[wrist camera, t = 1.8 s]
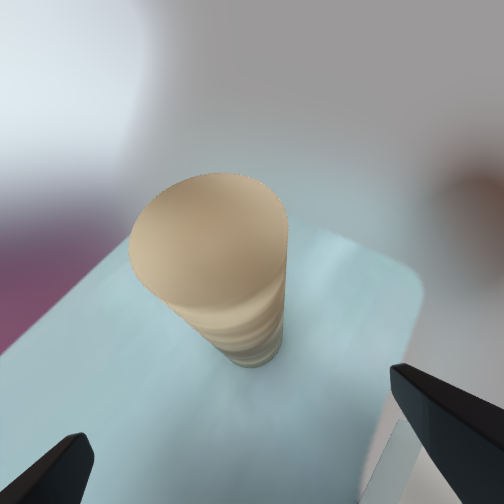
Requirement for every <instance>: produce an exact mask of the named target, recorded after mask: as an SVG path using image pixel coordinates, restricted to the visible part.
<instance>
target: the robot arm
mask: <svg viewBox="0 0 504 504" xmlns="http://www.w3.org/2000/svg"><path fill="white" fill-rule="evenodd" d="M390 382H391V391H392V394H393V396H394V398H395V400H396V402H397V403H398V405H399V407H400V408H401V410H402V412H403V413H404V415H405V417H406V418H407V420H408V422H409V423H410V425H411V427H412V428H413V430H414V432H415V434H416V435H417V437H418V439H419V440H420V442H421V444H422V445H423V447H424V449H425V450H426V452H427V453H428V455H429V457H430V458H431V460H432V461H433V463H434V464H435V466H436V467H437V468H438V470H439V471H440V473H441V474H442V476H443V477H444V478H445V480H446V481H447V483H448V484H449V485H450V487H451V488H452V490H453V491H454V492H455V494H456V495H457V497H458V498H459V499H460V501H461V502H462V504H504V409H502V408H499V407H497V406H495V405H493V404H491V403H489V402H487V401H485V400H483V399H480V398H478V397H476V396H474V395H472V394H470V393H467V392H466V391H463V390H461V389H459V388H456V387H455V386H453V385H450V384H449V383H446V382H444V381H442V380H440V379H438V378H436V377H434V376H431V375H429V374H427V373H425V372H423V371H421V370H419V369H417V368H414V367H412V366H410V365H408V364H406V363H401V364H396V365H392V366H391V367H390ZM93 464H94V452H93V449H92V447H91V445H90V443H89V440H88V438H87V436H86V434H84V433H82V432H81V433H76V434H71V435H68V436H66V437H65V438H64V439H62V440H61V441H60V442H59V443H58V444H57V445H55V446H54V447H53V448H52V449H51V450H49V451H48V452H47V453H46V454H45V455H44V456H42V457H41V458H40V459H39V460H38V461H36V462H35V463H34V464H33V465H32V466H30V467H29V468H28V469H27V470H26V471H25V472H23V473H22V474H21V475H20V476H19V477H17V478H16V479H15V480H14V481H13V482H12V483H10V484H9V485H8V486H7V487H6V488H4V489H3V490H2V491H1V492H0V504H80V503H81V500H82V497H83V494H84V491H85V488H86V485H87V482H88V479H89V476H90V473H91V470H92V467H93Z"/></svg>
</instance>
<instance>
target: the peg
mask: <svg viewBox="0 0 504 504" xmlns="http://www.w3.org/2000/svg"><path fill="white" fill-rule="evenodd" d="M287 244H288V218H287V214H286V211H285V209H284V206H283V204H282V202H281V201H280V200H279V198H278V197H277V196H276V195H275V193H273V191H272V190H270V189H269V188H268V187H267V186H265V185H264V184H262V183H260V182H259V181H256V180H254V179H252V178H249V177H246V176H242V175H238V174H231V173H230V174H229V173H212V174H205V175H200V176H196V177H192V178H189V179H186V180H184V181H181V182H179V183H177V184H175V185H173V186H171V187H169V188H168V189H166V190H165V191H163V192H162V193H160V194H159V195H158V196H157V197H155V198H154V199H153V200H152V201H151V202H150V203H149V204H148V205H147V206H146V207H145V209H144V210H143V211H142V213H141V214H140V216H139V217H138V219H137V220H136V222H135V225H134V227H133V229H132V232H131V235H130V240H129V258H130V263H131V266H132V269H133V271H134V273H135V275H136V276H137V278H138V279H139V281H140V282H141V283H142V284H143V285H144V286H145V287H146V288H147V289H148V290H149V291H151V292H152V293H153V294H154V295H155V296H156V297H158V298H159V299H160V300H161V301H162V302H163V303H165V304H166V305H167V306H168V307H169V308H170V309H172V310H173V311H174V312H175V313H176V314H177V315H179V316H180V317H181V318H182V319H183V320H184V321H186V322H187V323H188V324H189V325H190V326H191V327H193V328H194V329H195V330H196V331H197V332H198V333H200V334H201V335H202V336H203V337H204V338H205V339H206V340H208V341H209V342H210V343H211V344H212V345H213V346H215V347H216V348H217V349H218V350H219V351H220V352H222V353H223V354H224V355H225V356H226V357H227V358H229V359H230V360H231V361H232V362H233V363H235V364H237V365H239V366H242V367H246V368H255V367H259V366H262V365H264V364H266V363H268V362H269V361H270V360H271V359H273V357H274V356H275V355H276V354H277V352H278V350H279V348H280V345H281V341H282V330H283V313H284V296H285V279H286V261H287Z"/></svg>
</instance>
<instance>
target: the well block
mask: <svg viewBox="0 0 504 504" xmlns="http://www.w3.org/2000/svg"><path fill="white" fill-rule="evenodd" d="M358 504H462V502H461V501H460V499H459V498H458V497H457V495H456V494H455V492H454V491H453V490H452V488H451V487H450V485H449V484H448V483H447V481H446V480H445V478H444V477H443V476H442V474H441V473H440V471H439V470H438V468H437V467H436V466H435V464H434V463H433V461H432V460H431V458H430V457H429V455H428V453H427V452H426V450H425V449H424V447H423V445H422V444H421V442H420V440H419V439H418V437H417V435H416V434H415V432H414V430H413V428H412V427H411V425H410V423H409V422H408V421H403V420H398V422H397V424H396V426H395V428H394V430H393V433H392V435H391V437H390V439H389V441H388V443H387V445H386V447H385V449H384V451H383V453H382V455H381V458H380V460H379V462H378V464H377V466H376V468H375V470H374V472H373V474H372V477H371V479H370V480H369V483H368V485H367V487H366V489H365V491H364V493H363V495H362V497H361V499H360V501H359V503H358Z"/></svg>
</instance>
